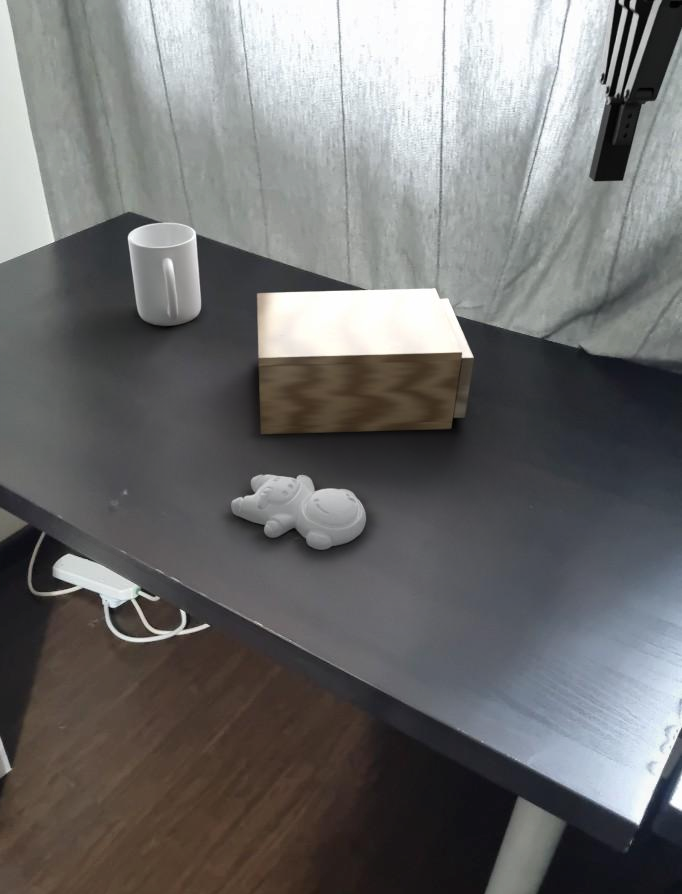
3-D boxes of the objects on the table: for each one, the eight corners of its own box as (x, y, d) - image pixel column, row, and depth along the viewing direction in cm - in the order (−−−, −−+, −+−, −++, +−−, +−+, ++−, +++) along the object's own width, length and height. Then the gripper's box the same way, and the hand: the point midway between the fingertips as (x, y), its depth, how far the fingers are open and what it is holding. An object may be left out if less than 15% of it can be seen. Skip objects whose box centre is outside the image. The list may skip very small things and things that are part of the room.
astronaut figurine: (268, 471, 81) (267, 446, 79) (380, 509, 76) (383, 483, 74) (219, 521, 75) (217, 495, 73) (337, 565, 70) (338, 538, 68)
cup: (197, 295, 111) (191, 219, 105) (210, 336, 102) (204, 256, 96) (135, 302, 110) (125, 225, 103) (143, 343, 101) (132, 262, 94)
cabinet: (427, 359, 97) (435, 288, 91) (451, 429, 86) (462, 352, 80) (259, 364, 97) (256, 292, 91) (260, 434, 86) (258, 357, 80)
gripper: (604, -152, 66) (546, 158, 82) (667, -149, 57) (587, 203, 72) (697, -154, 67) (621, 156, 82) (775, -151, 57) (673, 201, 72)
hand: (605, 178), depth 77 cm, fingers closed
